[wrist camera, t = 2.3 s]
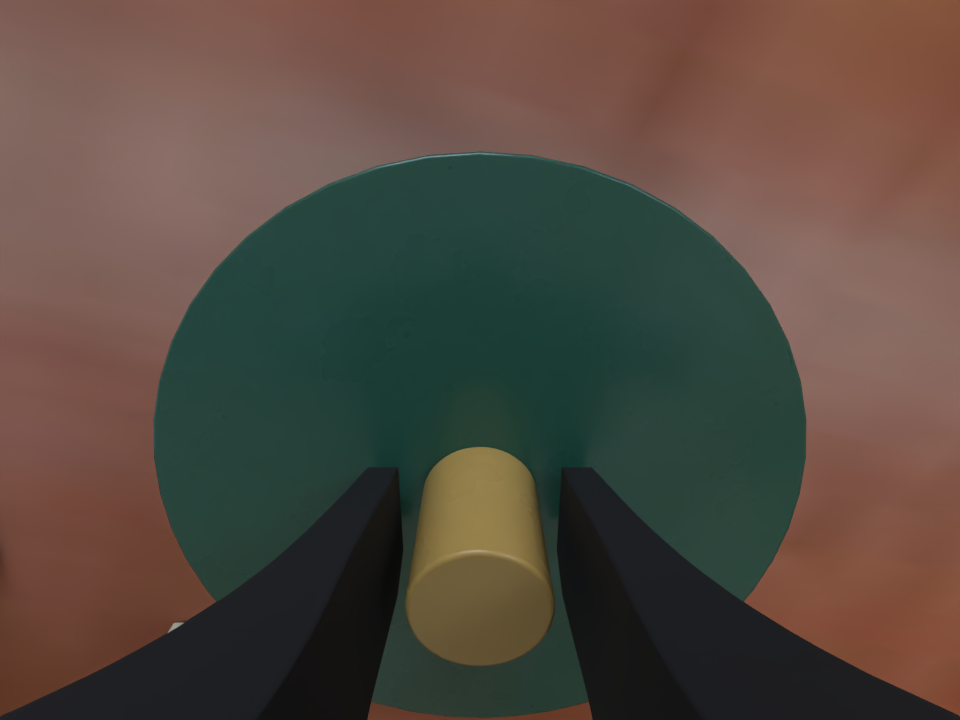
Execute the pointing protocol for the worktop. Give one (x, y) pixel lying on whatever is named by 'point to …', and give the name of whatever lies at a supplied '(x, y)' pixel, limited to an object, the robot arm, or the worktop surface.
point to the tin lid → (479, 404)
